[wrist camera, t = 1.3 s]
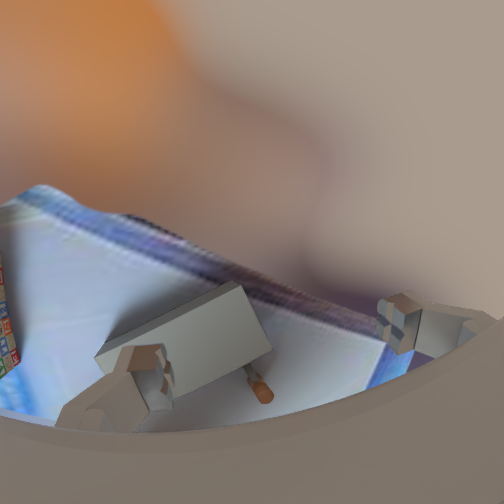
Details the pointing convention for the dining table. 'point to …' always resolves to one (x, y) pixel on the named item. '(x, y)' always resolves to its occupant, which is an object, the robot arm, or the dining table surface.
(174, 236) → the dining table surface
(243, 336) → the shelf
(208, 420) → the dining table surface
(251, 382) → the toy hammer
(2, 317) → the stack of blocks
